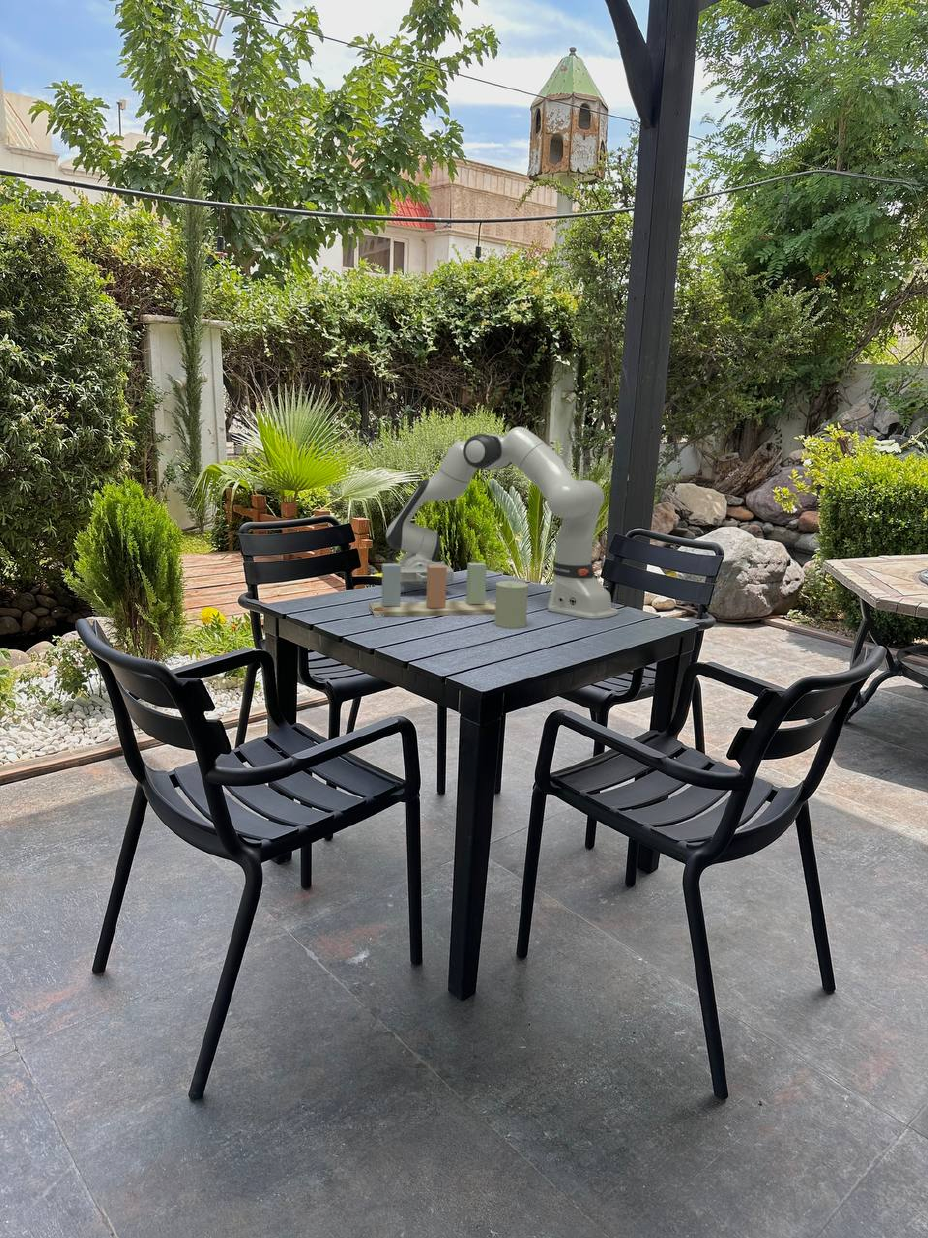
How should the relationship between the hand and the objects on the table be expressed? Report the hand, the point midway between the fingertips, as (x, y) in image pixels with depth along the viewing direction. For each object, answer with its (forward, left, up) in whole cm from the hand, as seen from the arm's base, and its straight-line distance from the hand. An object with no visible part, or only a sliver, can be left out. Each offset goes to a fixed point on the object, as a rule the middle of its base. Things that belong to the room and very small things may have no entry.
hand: (426, 579), depth 250 cm
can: (-37, -1, -7) cm, 38 cm away
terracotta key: (-14, +7, -5) cm, 17 cm away
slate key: (-5, +17, -5) cm, 19 cm away
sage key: (-17, -6, -5) cm, 19 cm away
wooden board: (-13, +7, -7) cm, 16 cm away
